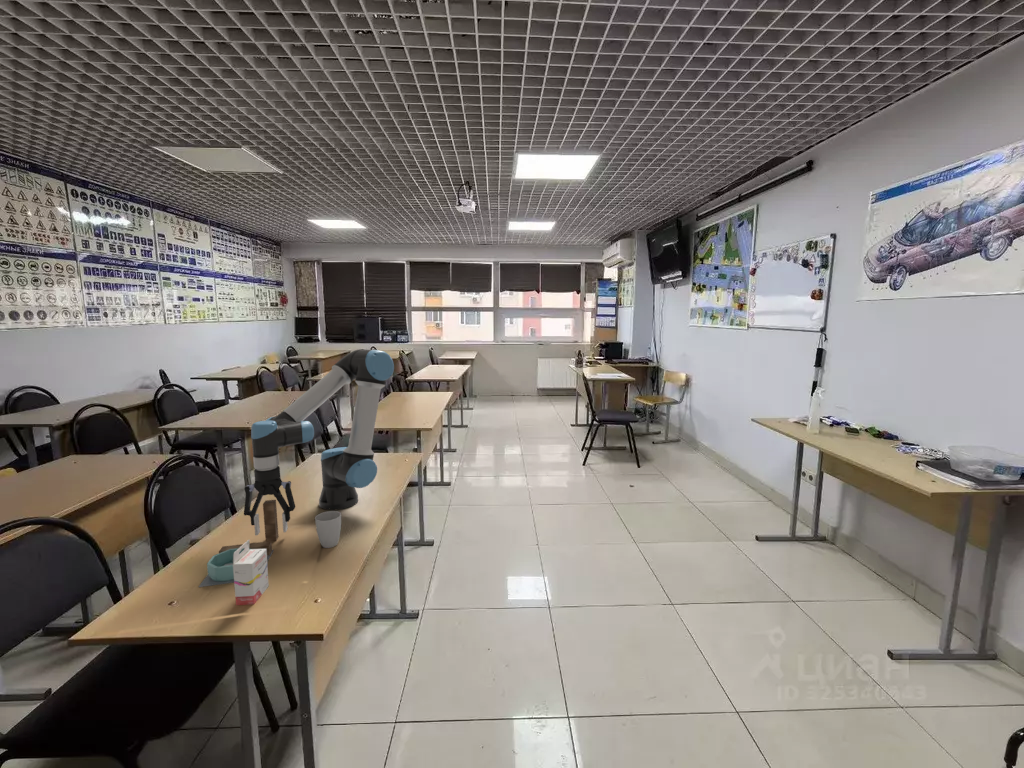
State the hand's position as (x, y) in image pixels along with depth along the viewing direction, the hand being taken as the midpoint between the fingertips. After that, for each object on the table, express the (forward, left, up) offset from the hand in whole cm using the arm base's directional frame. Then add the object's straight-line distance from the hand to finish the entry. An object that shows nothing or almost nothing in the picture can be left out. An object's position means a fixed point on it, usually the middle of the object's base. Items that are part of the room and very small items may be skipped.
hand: (271, 532), depth 152 cm
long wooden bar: (+5, +10, -3) cm, 11 cm away
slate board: (+5, +17, -3) cm, 18 cm away
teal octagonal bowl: (+6, +19, -3) cm, 20 cm away
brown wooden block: (0, 0, -3) cm, 3 cm away
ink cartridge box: (-4, +34, -4) cm, 34 cm away
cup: (-19, +7, -3) cm, 21 cm away
